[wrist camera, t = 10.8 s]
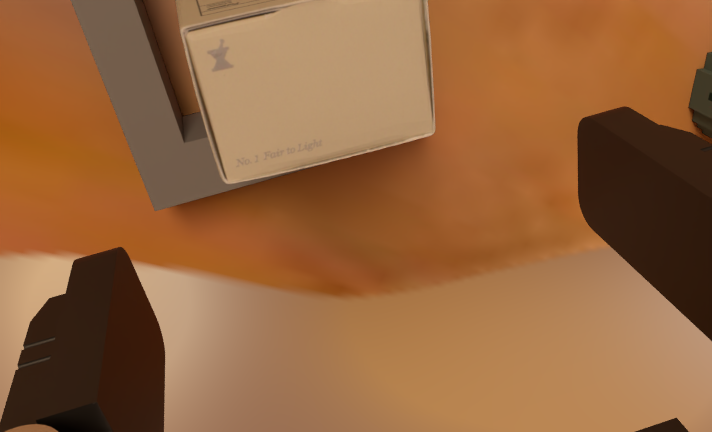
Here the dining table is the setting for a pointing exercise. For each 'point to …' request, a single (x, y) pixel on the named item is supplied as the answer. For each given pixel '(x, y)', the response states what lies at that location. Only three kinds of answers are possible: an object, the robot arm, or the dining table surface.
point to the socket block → (150, 105)
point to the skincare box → (307, 79)
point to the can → (703, 97)
